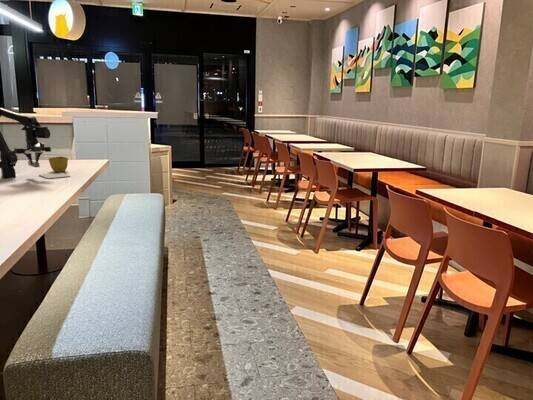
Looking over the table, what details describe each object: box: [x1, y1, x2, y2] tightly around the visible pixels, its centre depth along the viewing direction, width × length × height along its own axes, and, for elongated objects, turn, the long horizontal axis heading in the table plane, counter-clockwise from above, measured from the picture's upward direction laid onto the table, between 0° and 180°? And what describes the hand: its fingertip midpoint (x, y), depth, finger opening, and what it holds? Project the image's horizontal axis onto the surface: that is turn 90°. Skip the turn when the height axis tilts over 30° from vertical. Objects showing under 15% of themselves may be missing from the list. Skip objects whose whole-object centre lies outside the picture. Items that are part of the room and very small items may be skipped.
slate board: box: [38, 172, 71, 180], centre depth 268 cm, size 13×15×1 cm
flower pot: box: [48, 156, 69, 173], centre depth 285 cm, size 9×9×9 cm
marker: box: [27, 160, 40, 168], centre depth 260 cm, size 2×12×2 cm, turn 45°
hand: (34, 164), depth 259 cm, fingers closed on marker, 2 cm apart
